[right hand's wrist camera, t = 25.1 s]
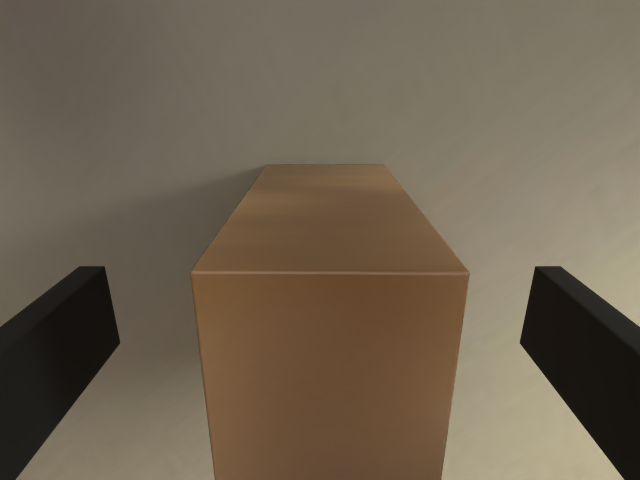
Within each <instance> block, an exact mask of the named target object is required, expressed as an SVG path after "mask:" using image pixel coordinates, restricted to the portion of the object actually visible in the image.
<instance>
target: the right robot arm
mask: <svg viewBox="0 0 640 480" xmlns="http://www.w3.org/2000/svg"><path fill="white" fill-rule="evenodd" d="M119 344H120V339H119V334H118V329H117V324H116V320H115V315H114V310H113V305H112V300H111V295H110V290H109V285H108V280H107V275H106V271H105V266H79V267H78V268H77V269H76V270H74V271H73V272H72V273H70V274H69V275H68V276H66V277H65V278H64V279H62V280H61V281H60V282H59V283H57V284H56V285H55V286H53V287H52V288H51V289H49V290H48V291H47V292H46V293H44V294H43V295H42V296H40V297H39V298H38V299H36V300H35V301H34V302H32V303H31V304H30V305H29V306H27V307H26V308H25V309H23V310H22V311H21V312H19V313H18V314H17V315H16V316H14V317H13V318H12V319H10V320H9V321H8V322H6V323H5V324H4V325H2V326H1V327H0V480H16V478H17V477H18V476H19V474H20V473H21V472H22V471H23V469H24V468H25V467H26V465H27V464H28V463H29V461H30V460H31V459H32V458H33V456H34V455H35V454H36V452H37V451H38V450H39V448H40V447H41V446H42V444H43V443H44V442H45V441H46V439H47V438H48V437H49V435H50V434H51V433H52V431H53V430H54V429H55V427H56V426H57V425H58V424H59V422H60V421H61V420H62V418H63V417H64V416H65V414H66V413H67V412H68V410H69V409H70V408H71V407H72V405H73V404H74V403H75V401H76V400H77V399H78V397H79V396H80V395H81V394H82V392H83V391H84V390H85V388H86V387H87V386H88V384H89V383H90V382H91V380H92V379H93V378H94V377H95V375H96V374H97V373H98V371H99V370H100V369H101V367H102V366H103V365H104V363H105V362H106V361H107V360H108V358H109V357H110V356H111V354H112V353H113V352H114V350H115V349H116V348H117V346H118V345H119ZM520 344H521V345H522V346H523V348H524V349H525V350H526V352H527V353H528V354H529V356H530V357H531V358H532V360H533V361H534V362H535V363H536V365H537V366H538V367H539V369H540V370H541V371H542V373H543V374H544V375H545V377H546V378H547V379H548V380H549V382H550V383H551V384H552V386H553V387H554V388H555V390H556V391H557V392H558V394H559V395H560V396H561V397H562V399H563V400H564V401H565V403H566V404H567V405H568V407H569V408H570V409H571V410H572V412H573V413H574V414H575V416H576V417H577V418H578V420H579V421H580V422H581V424H582V425H583V426H584V427H585V429H586V430H587V431H588V433H589V434H590V435H591V437H592V438H593V439H594V441H595V442H596V443H597V444H598V446H599V447H600V448H601V450H602V451H603V452H604V454H605V455H606V456H607V458H608V459H609V460H610V461H611V463H612V464H613V465H614V467H615V468H616V469H617V471H618V472H619V473H620V474H621V476H622V477H623V478H624V480H640V327H639V326H638V325H636V324H635V323H634V322H632V321H631V320H630V319H628V318H627V317H626V316H624V315H623V314H622V313H621V312H619V311H618V310H617V309H615V308H614V307H613V306H611V305H610V304H609V303H608V302H606V301H605V300H604V299H602V298H601V297H600V296H598V295H597V294H596V293H594V292H593V291H592V290H591V289H589V288H588V287H587V286H585V285H584V284H583V283H581V282H580V281H579V280H578V279H576V278H575V277H574V276H572V275H571V274H570V273H568V272H567V271H566V270H564V269H563V268H562V267H561V266H535V271H534V275H533V280H532V285H531V290H530V295H529V300H528V305H527V310H526V315H525V320H524V324H523V329H522V334H521V339H520Z"/></svg>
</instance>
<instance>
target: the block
mask: <svg viewBox="0 0 640 480" xmlns="http://www.w3.org/2000/svg"><path fill="white" fill-rule="evenodd" d="M190 276H191V285H192V293H193V301H194V310H195V318H196V326H197V334H198V343H199V351H200V359H201V368H202V376H203V384H204V393H205V401H206V409H207V418H208V426H209V434H210V443H211V451H212V459H213V468H214V476H215V480H441V476H442V469H443V462H444V454H445V447H446V440H447V433H448V425H449V418H450V411H451V404H452V397H453V389H454V382H455V375H456V368H457V360H458V353H459V346H460V339H461V332H462V324H463V317H464V310H465V303H466V295H467V288H468V281H469V271H468V270H467V269H466V267H465V266H464V265H463V264H462V262H461V261H460V260H459V259H458V257H457V256H456V255H455V253H454V252H453V251H452V250H451V248H450V247H449V246H448V245H447V243H446V242H445V241H444V240H443V238H442V237H441V236H440V234H439V233H438V232H437V231H436V229H435V228H434V227H433V226H432V224H431V223H430V222H429V221H428V219H427V218H426V217H425V216H424V214H423V213H422V212H421V210H420V209H419V208H418V207H417V205H416V204H415V203H414V202H413V200H412V199H411V198H410V197H409V195H408V194H407V193H406V191H405V190H404V189H403V188H402V186H401V185H400V184H399V183H398V181H397V180H396V179H395V178H394V176H393V175H392V174H391V173H390V171H389V170H388V169H387V167H386V166H385V165H266V166H265V168H264V169H263V171H262V172H261V173H260V175H259V176H258V178H257V179H256V180H255V182H254V183H253V185H252V186H251V187H250V189H249V190H248V192H247V193H246V194H245V196H244V197H243V199H242V200H241V201H240V203H239V204H238V206H237V207H236V208H235V210H234V211H233V213H232V214H231V215H230V217H229V218H228V220H227V221H226V222H225V224H224V225H223V227H222V228H221V229H220V231H219V232H218V234H217V235H216V236H215V238H214V239H213V241H212V242H211V243H210V245H209V246H208V248H207V249H206V250H205V252H204V253H203V255H202V256H201V257H200V259H199V260H198V262H197V263H196V264H195V266H194V267H193V269H192V270H191V272H190Z"/></svg>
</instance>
